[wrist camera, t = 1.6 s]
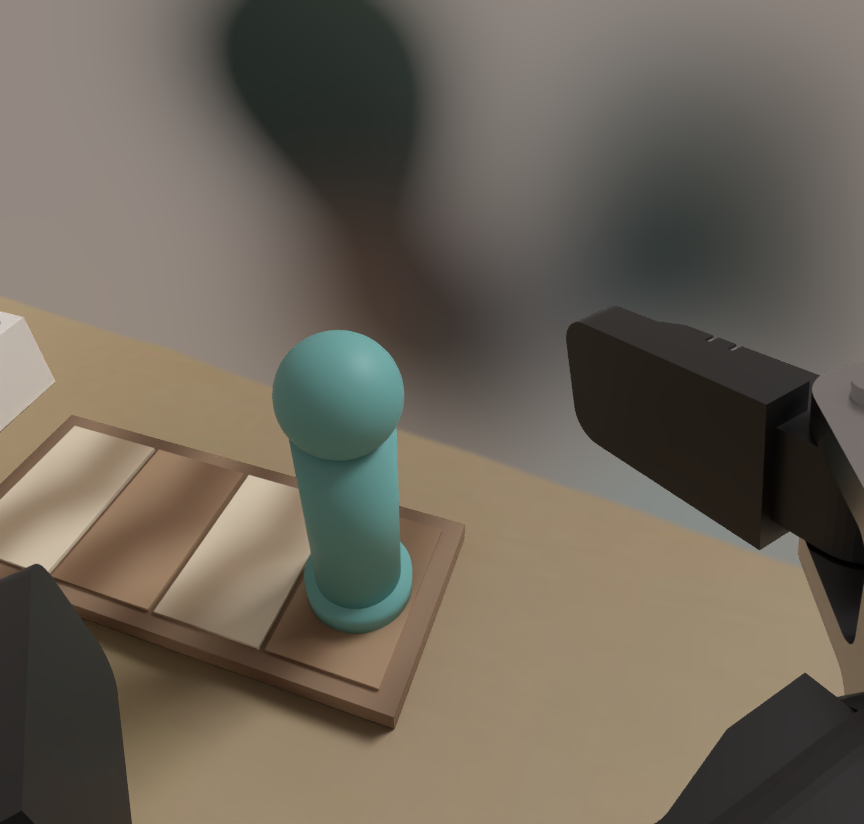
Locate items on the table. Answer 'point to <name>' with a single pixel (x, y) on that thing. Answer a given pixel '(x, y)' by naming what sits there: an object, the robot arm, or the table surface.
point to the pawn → (347, 476)
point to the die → (19, 368)
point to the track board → (211, 563)
